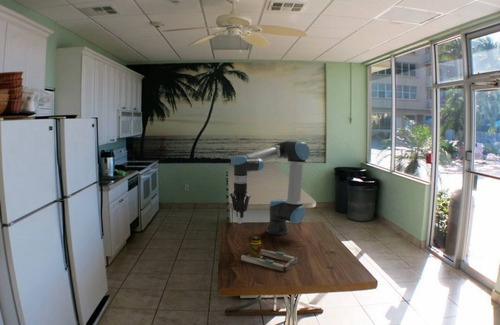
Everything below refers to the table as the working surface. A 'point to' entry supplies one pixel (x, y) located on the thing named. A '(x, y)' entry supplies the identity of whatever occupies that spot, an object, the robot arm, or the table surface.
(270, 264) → the rail track
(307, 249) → the table surface
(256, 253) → the condiment
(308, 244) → the table surface
